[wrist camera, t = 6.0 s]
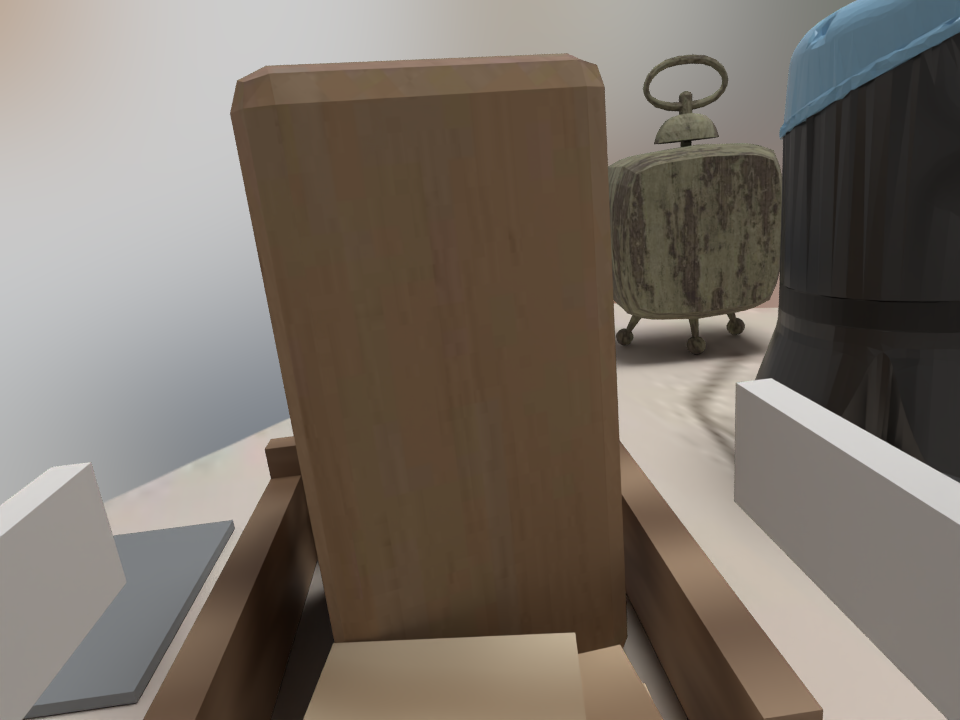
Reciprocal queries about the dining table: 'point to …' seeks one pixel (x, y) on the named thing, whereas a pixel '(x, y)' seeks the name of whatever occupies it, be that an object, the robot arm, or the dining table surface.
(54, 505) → the robot arm
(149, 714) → the brown wooden tray
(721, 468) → the dining table surface
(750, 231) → the tabletop clock
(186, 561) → the felt pad
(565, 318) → the wooden block
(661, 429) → the dining table surface
